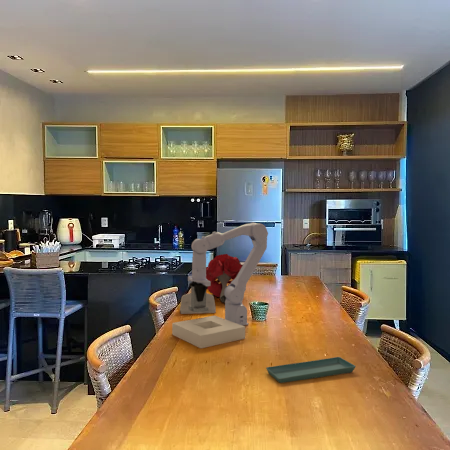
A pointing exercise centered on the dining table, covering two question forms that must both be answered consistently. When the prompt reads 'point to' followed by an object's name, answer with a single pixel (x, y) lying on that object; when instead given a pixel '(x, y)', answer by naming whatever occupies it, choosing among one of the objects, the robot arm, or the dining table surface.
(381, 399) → the dining table surface
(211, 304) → the grey rounded block
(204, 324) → the well block
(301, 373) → the rectangular tray
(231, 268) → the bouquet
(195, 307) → the tall grey block
